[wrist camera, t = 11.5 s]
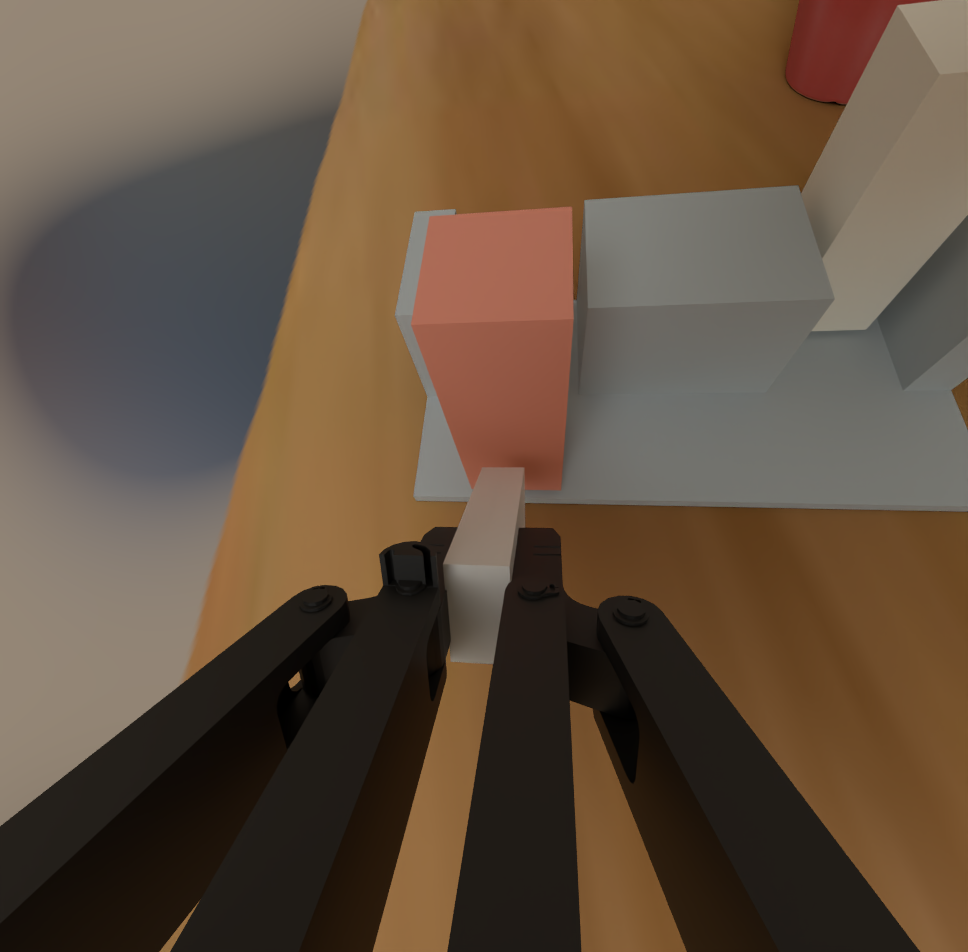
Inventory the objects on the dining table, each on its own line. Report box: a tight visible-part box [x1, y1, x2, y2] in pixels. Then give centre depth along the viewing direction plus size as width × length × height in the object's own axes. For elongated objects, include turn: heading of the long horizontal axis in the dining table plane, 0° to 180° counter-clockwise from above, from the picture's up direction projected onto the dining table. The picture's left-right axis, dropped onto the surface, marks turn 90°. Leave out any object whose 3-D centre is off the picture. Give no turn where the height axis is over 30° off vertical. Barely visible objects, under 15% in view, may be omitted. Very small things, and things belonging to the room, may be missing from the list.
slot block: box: [395, 185, 968, 512], centre depth 21 cm, size 25×12×7 cm, turn 86°
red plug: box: [411, 207, 574, 490], centre depth 18 cm, size 4×4×11 cm
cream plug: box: [801, 0, 968, 331], centre depth 19 cm, size 4×4×11 cm
